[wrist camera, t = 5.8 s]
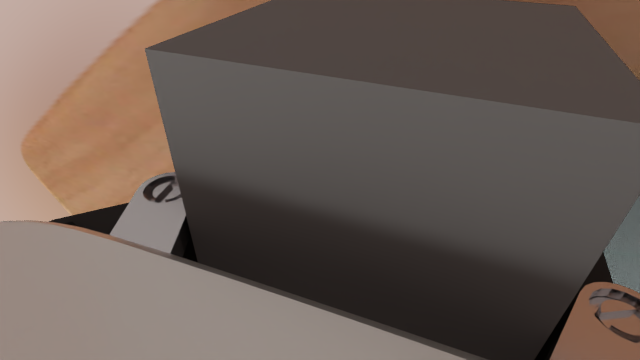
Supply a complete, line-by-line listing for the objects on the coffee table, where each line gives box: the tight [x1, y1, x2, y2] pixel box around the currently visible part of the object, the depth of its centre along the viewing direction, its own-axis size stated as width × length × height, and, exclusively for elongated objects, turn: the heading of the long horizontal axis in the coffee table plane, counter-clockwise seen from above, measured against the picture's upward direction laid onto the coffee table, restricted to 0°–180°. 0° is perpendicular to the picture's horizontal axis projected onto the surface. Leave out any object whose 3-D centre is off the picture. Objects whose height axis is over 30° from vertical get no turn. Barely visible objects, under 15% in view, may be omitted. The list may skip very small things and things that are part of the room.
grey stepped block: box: [145, 0, 640, 360], centre depth 10 cm, size 6×13×6 cm, turn 178°
